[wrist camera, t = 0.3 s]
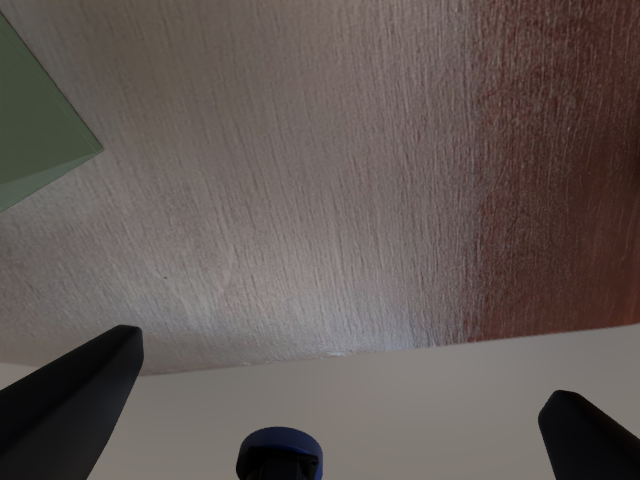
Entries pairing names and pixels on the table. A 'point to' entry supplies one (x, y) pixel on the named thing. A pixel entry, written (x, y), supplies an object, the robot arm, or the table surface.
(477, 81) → the table surface
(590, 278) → the table surface
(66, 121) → the chest
